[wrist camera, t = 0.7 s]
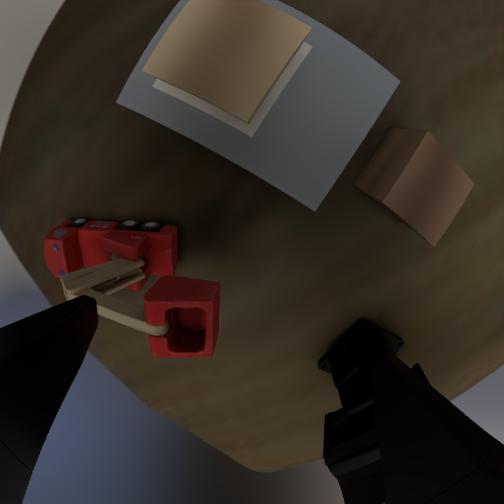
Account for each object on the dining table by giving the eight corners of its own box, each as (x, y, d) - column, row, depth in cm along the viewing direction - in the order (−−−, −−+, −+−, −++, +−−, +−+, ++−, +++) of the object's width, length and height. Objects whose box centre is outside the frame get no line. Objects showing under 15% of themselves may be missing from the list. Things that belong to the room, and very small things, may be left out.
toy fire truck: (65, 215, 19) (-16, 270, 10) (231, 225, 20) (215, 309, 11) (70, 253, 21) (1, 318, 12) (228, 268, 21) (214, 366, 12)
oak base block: (299, 48, 14) (312, 27, 10) (248, 124, 16) (247, 122, 12) (215, 8, 12) (206, -20, 9) (164, 82, 15) (141, 71, 11)
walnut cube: (433, 169, 18) (474, 184, 13) (399, 220, 19) (434, 247, 15) (389, 127, 17) (428, 130, 12) (352, 183, 18) (382, 202, 14)
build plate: (393, 83, 15) (400, 81, 14) (312, 207, 19) (315, 211, 18) (206, -22, 12) (204, -28, 11) (122, 103, 16) (116, 102, 15)
